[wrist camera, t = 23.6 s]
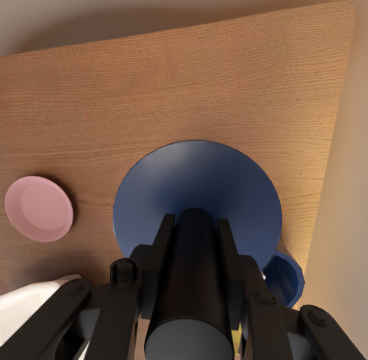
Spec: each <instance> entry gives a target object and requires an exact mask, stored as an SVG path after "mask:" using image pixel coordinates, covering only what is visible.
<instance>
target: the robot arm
mask: <svg viewBox="0 0 368 360" xmlns="http://www.w3.org/2000/svg"><path fill="white" fill-rule="evenodd" d="M174 223H175V214H169V213H165V215H164V217H163V220H162V222H161V225H160V227H159V230H158V232H157V235H156V237H155V240H154V242H153V244H152V245H146V244H139V245H138V246H136V247H135V248H134V249H133V251H132V253H131V255H130V257H129V258H121V259H118V260H116V261H114V262H113V263H112V264H111V266H110V283H108V284H105V285H99V286H91V282H90V281H89V280H87V279H85V278H76V279H72V280H69V281H67V282H65V283H64V284H63V285H61V286H60V287H59V288H58V289H57V290H56V291H55V292H54V293H53V294H52V295H51V296H50V297H49V298H48V299H47V300H46V301H45V302H44V303H43V304H42V305H41V306H40V308H39V309H38V310H37V311H36V312H35V313H34V314H33V315H32V316H31V317H30V318H29V319H28V320H27V321H26V322H25V323H24V324H23V325H22V326H21V327H20V328H19V329H18V330H17V331H16V332H15V333H14V334H13V335H12V336H11V337H10V338H9V339H8V340H7V341H6V342H5V343H4V344H3V345H2V346H1V347H0V360H79V358H80V356H81V355H82V353H83V351H84V350H85V348H86V346H87V345H88V343H89V345H88V348H87V351H86V353H85V356H84V359H83V360H134V354H135V346H136V339H137V331H138V318H139V315H140V312H141V319H149V320H150V319H151V315H152V311H153V307H154V304H155V300H156V296H157V292H158V288H159V284H160V281H161V277H162V273H163V269H164V265H165V261H166V257H167V253H168V249H169V245H170V242H171V238H172V234H173V230H174ZM216 234H217V241H218V247H219V254H220V260H221V266H222V273H223V279H224V286H225V292H226V299H227V305H228V311H229V318H230V324H231V330H234V331H238V330H239V324H240V325H241V329H242V333H241V339H240V344H239V350H238V354H240V356H241V360H366V359H365V358H364V357H363V355H362V354H361V353H360V352H359V350H358V349H357V348H356V346H355V345H354V344H353V343H352V341H351V340H350V339H349V338H348V336H347V335H346V334H345V332H344V331H343V330H342V329H341V327H340V326H339V325H338V323H337V322H336V321H335V320H334V318H333V317H331V315H330V314H329V313H327V312H326V311H324V310H323V309H321V308H319V307H317V306H313V305H303V306H302V307H301V308H300V311H297V310H294V309H292V308H289V307H286V306H284V305H282V304H280V302H279V300H278V298H277V297H276V296H275V295H274V294H273V293H272V292H270V291H269V290H268V288H267V286H266V283H265V281H264V278H263V276H262V274H261V271H260V269H259V267H258V264H257V262H256V260H255V259H254V258H253V257H252V256H251V255H242V254H238V251H237V247H236V244H235V241H234V237H233V234H232V231H231V228H230V224H229V221H228V219H218V221H217V229H216ZM89 341H90V342H89Z"/></svg>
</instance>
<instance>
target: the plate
mask: <svg viewBox="0 0 368 360" xmlns="http://www.w3.org/2000/svg"><path fill="white" fill-rule="evenodd" d="M5 208H6V212H7V215H8V217H9V219H10V221H11V223H12V224H13V226H14V227H15V228H16V229H17V230H18V231H19V232H20V233H22V234H23V235H24V236H26V237H28V238H30V239H32V240H35V241H39V242H52V241H56V240H58V239H60V238H62V237H63V236H65V235H66V234H67V232H68V231H69V230H70V228H71V226H72V223H73V208H72V204H71V202H70V199H69V198H68V196H67V194H66V193H65V192H64V191H63V189H62V188H61V187H60V186H58V185H57V184H56V183H54V182H53V181H51V180H49V179H46V178H44V177H40V176H26V177H22V178H20V179H18V180H16V181H15V182H14V183H13V184H12V185H11V186H10V187H9V189H8V191H7V193H6V197H5Z"/></svg>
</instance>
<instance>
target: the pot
mask: <svg viewBox="0 0 368 360" xmlns="http://www.w3.org/2000/svg"><path fill="white" fill-rule="evenodd" d="M262 270H263V274H264V276H265V277H266V278H265V280H264V281H265V283H266V286H267V288H268V290H269V291H270V292H272V293H273V294H274V295H275V296H276V297H277V298H278V300H279V302H280V304H282V305H284V306H286V307H289V308H292V307H293V306H294V305H295V304H296V302H297V301H298V300H299V298H300V297H301V296H302V292H303V288H304V284H305V281H304V277H303V273H302V269H301V267H300V266H299V265H298V263H297V262H296V260H295V259H294V258H293V256H292V255H291V254H290V252H289V251H288V249H287V248H286V247H285V245H284V244H283V242H282V241H281V240H280V238H279V242H278V245H277V247H276V250H275V252H274V254H273V256H272V257H271V259H270V261H269V262H268V263H267V265H266V266H265V267H264V268H263V269H262Z"/></svg>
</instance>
